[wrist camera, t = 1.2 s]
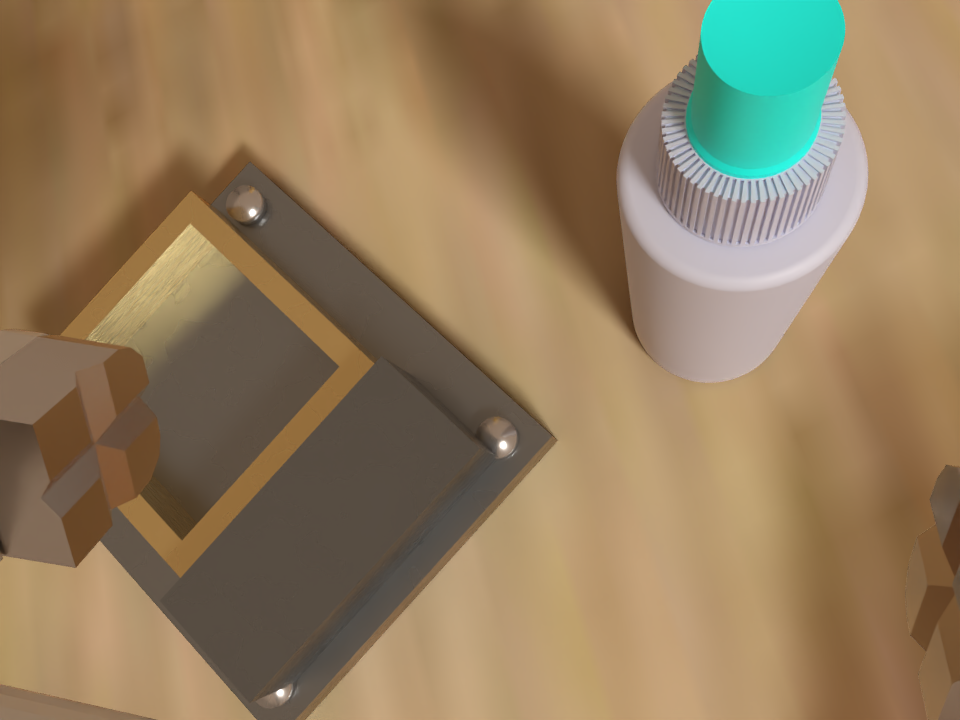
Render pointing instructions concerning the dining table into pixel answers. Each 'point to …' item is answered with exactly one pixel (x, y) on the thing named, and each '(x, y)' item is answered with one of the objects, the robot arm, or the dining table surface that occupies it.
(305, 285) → the grey plate with frame
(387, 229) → the dining table surface
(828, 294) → the dining table surface
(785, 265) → the spray bottle
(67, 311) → the dining table surface
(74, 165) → the dining table surface
